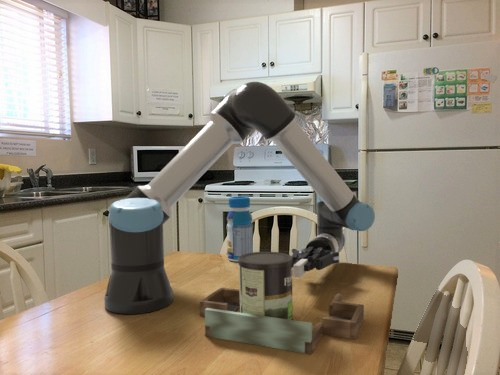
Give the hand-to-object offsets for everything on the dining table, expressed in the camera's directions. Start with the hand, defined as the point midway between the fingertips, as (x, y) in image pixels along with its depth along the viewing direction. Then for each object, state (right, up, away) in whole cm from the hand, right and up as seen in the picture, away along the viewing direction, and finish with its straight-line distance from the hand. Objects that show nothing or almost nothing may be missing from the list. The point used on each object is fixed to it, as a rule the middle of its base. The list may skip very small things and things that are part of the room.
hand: (296, 271), depth 96 cm
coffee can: (-8, -8, -16) cm, 19 cm away
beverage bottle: (-14, -4, +40) cm, 42 cm away
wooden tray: (-4, -8, -10) cm, 13 cm away
